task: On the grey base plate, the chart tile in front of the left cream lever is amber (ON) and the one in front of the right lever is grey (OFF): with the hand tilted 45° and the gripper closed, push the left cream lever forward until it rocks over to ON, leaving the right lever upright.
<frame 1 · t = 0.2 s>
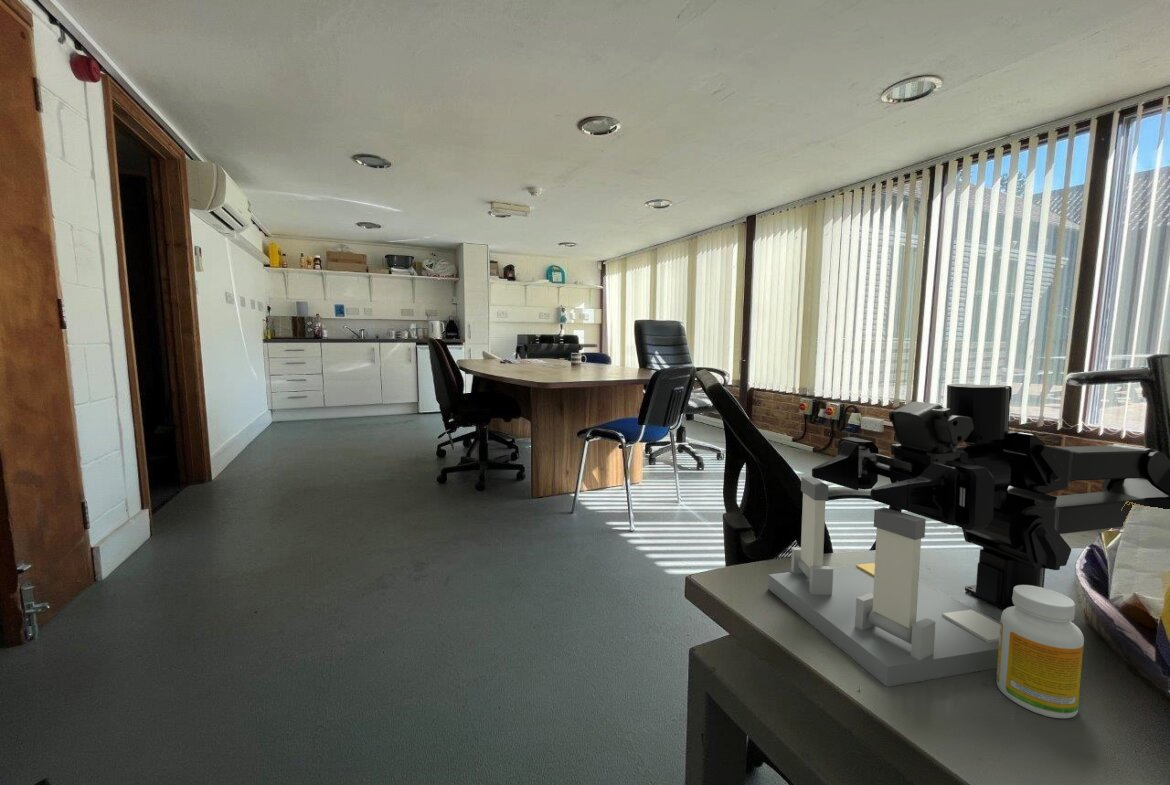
hand: (839, 482, 54), 17 cm above the table, tool horizontal, fingers open, 9 cm apart
grey base plate: (884, 620, 56), on the table
switch a: (812, 529, 60), point 9 cm above the table, hinge at 0.0°
switch b: (896, 574, 48), point 9 cm above the table, hinge at 0.0°
supplement bottle: (1035, 700, 43), on the table
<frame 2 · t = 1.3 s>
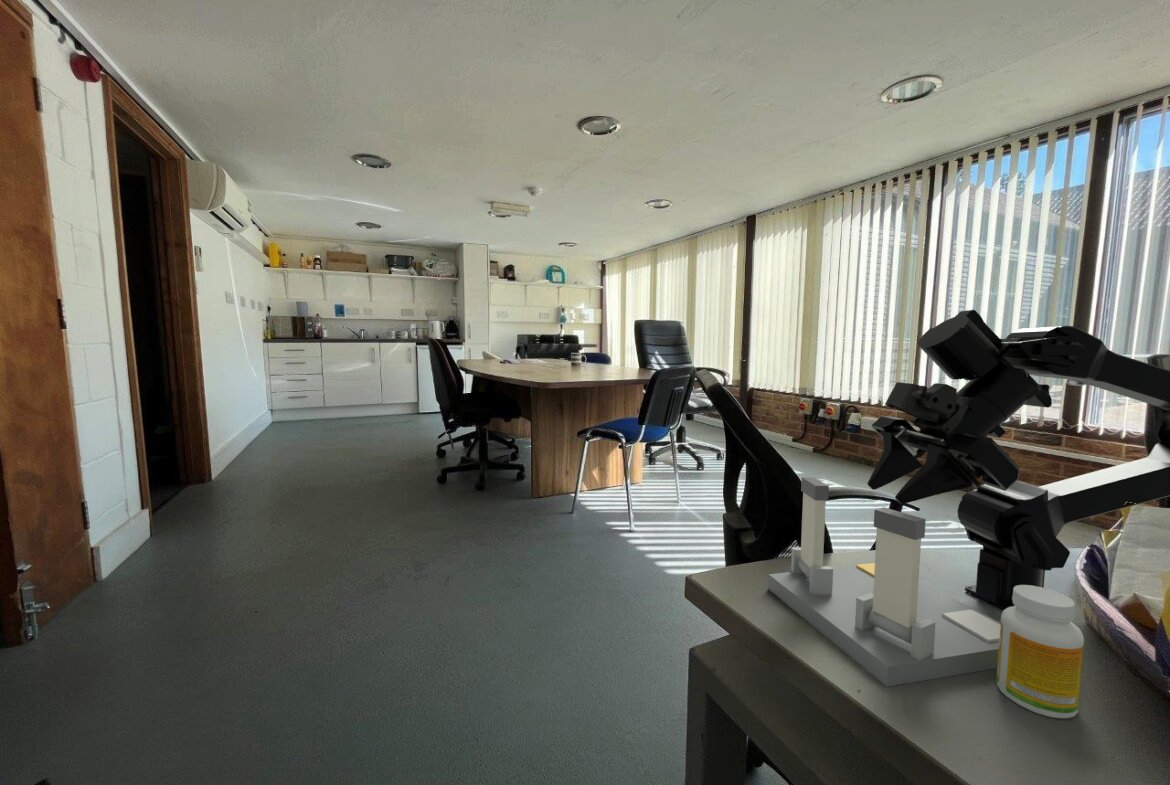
hand: (883, 493, 59), 14 cm above the table, tool tilted 45°, fingers open, 6 cm apart
nothing on the table moved.
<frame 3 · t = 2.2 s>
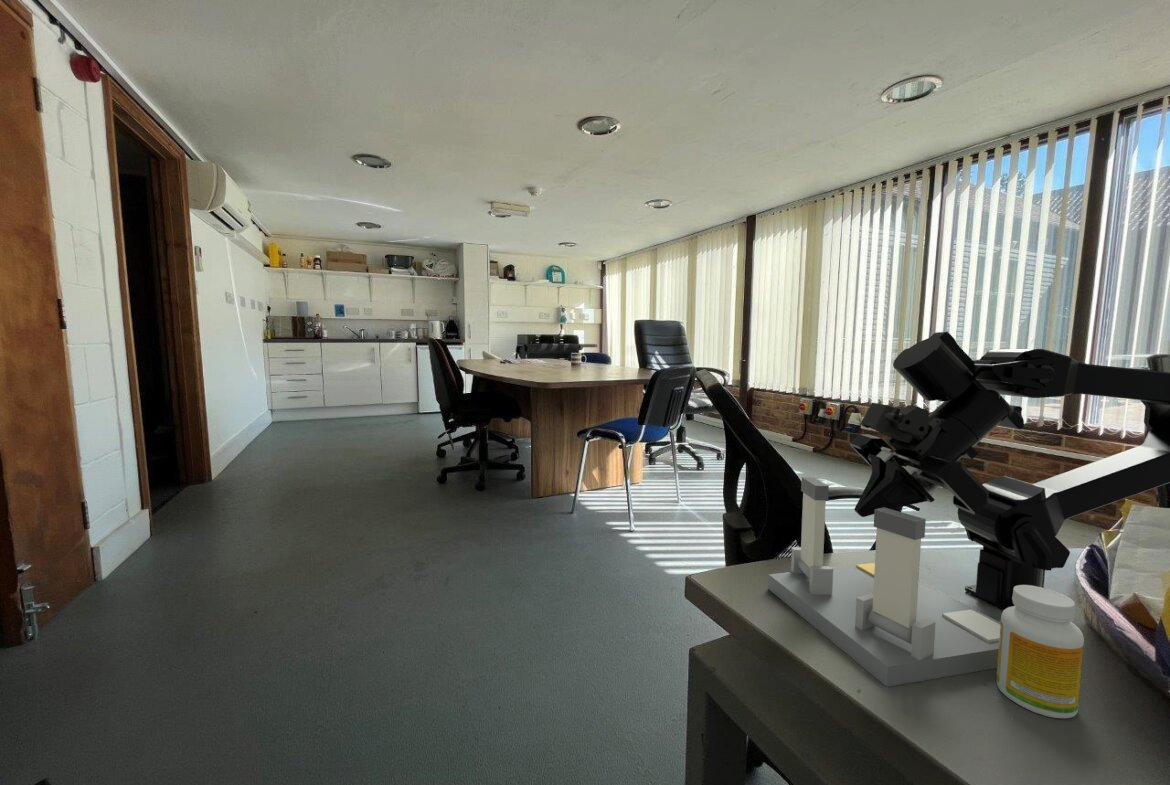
hand: (858, 513, 60), 11 cm above the table, tool tilted 45°, fingers closed
nothing on the table moved.
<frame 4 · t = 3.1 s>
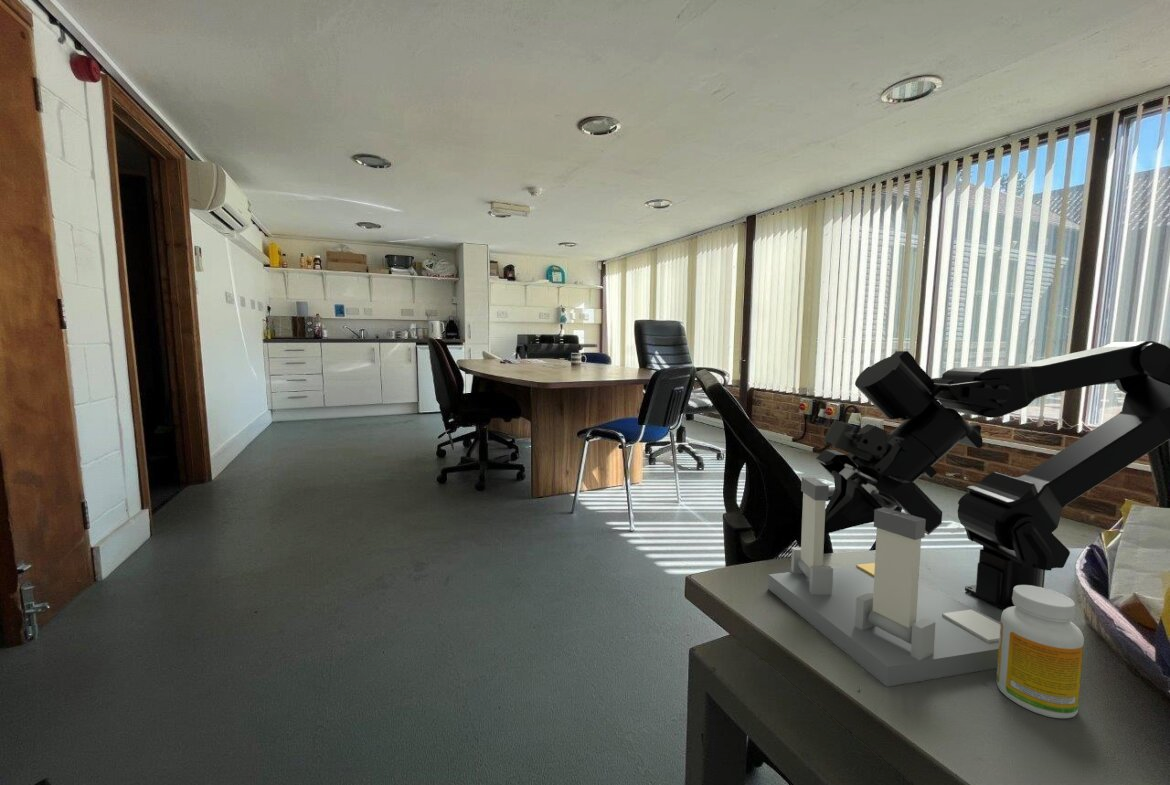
hand: (819, 530, 60), 9 cm above the table, tool tilted 45°, fingers closed, pressing on switch a
switch a: (812, 529, 60), point 9 cm above the table, hinge at -0.1°, touching gripper
everything else where it was.
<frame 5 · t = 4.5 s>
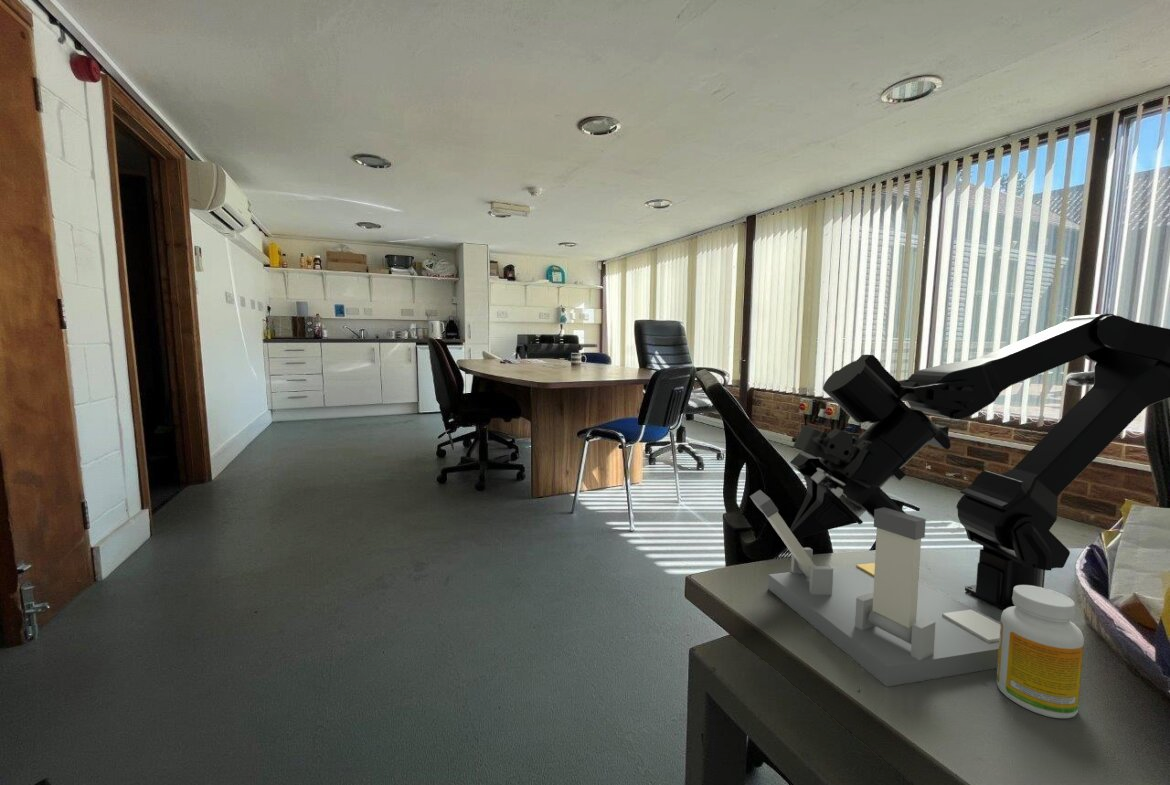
hand: (792, 535, 60), 8 cm above the table, tool tilted 45°, fingers closed, pressing on switch a
switch a: (787, 537, 60), point 8 cm above the table, hinge at 35.5°, touching gripper
everything else where it was.
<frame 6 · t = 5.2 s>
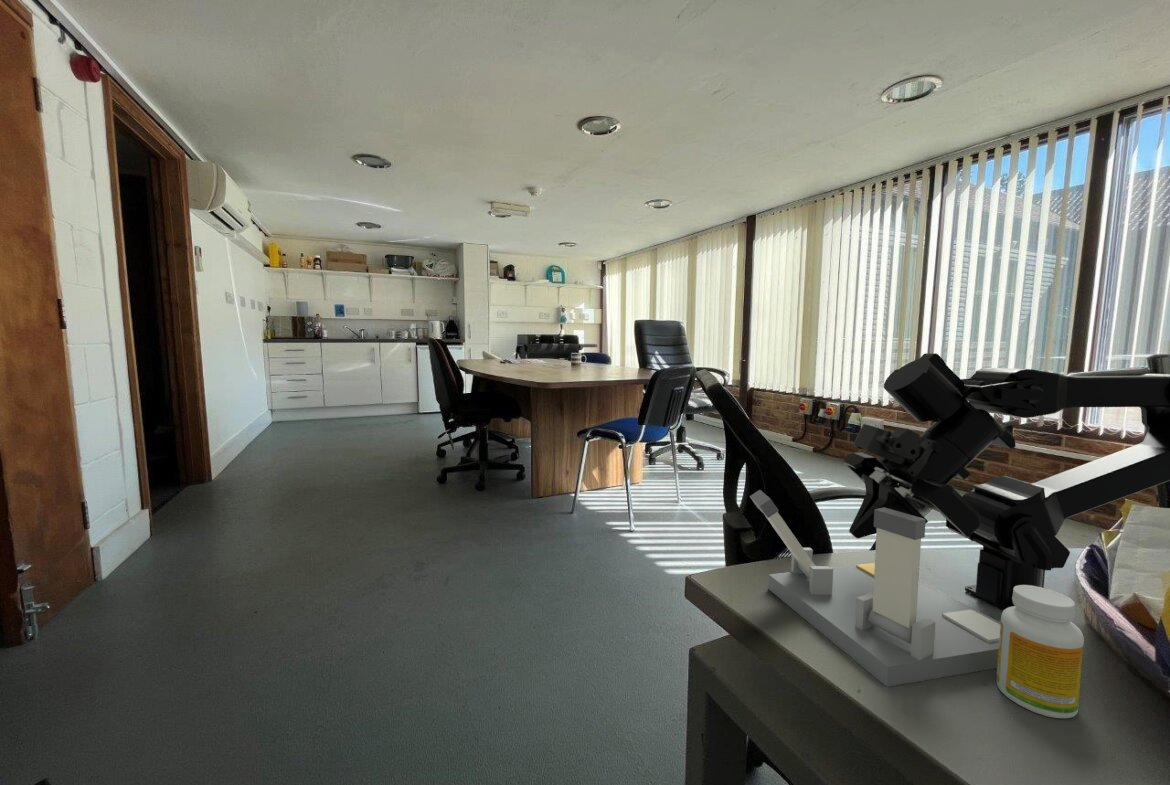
hand: (852, 535, 60), 8 cm above the table, tool tilted 45°, fingers closed
switch a: (787, 537, 60), point 8 cm above the table, hinge at 35.5°
everything else where it was.
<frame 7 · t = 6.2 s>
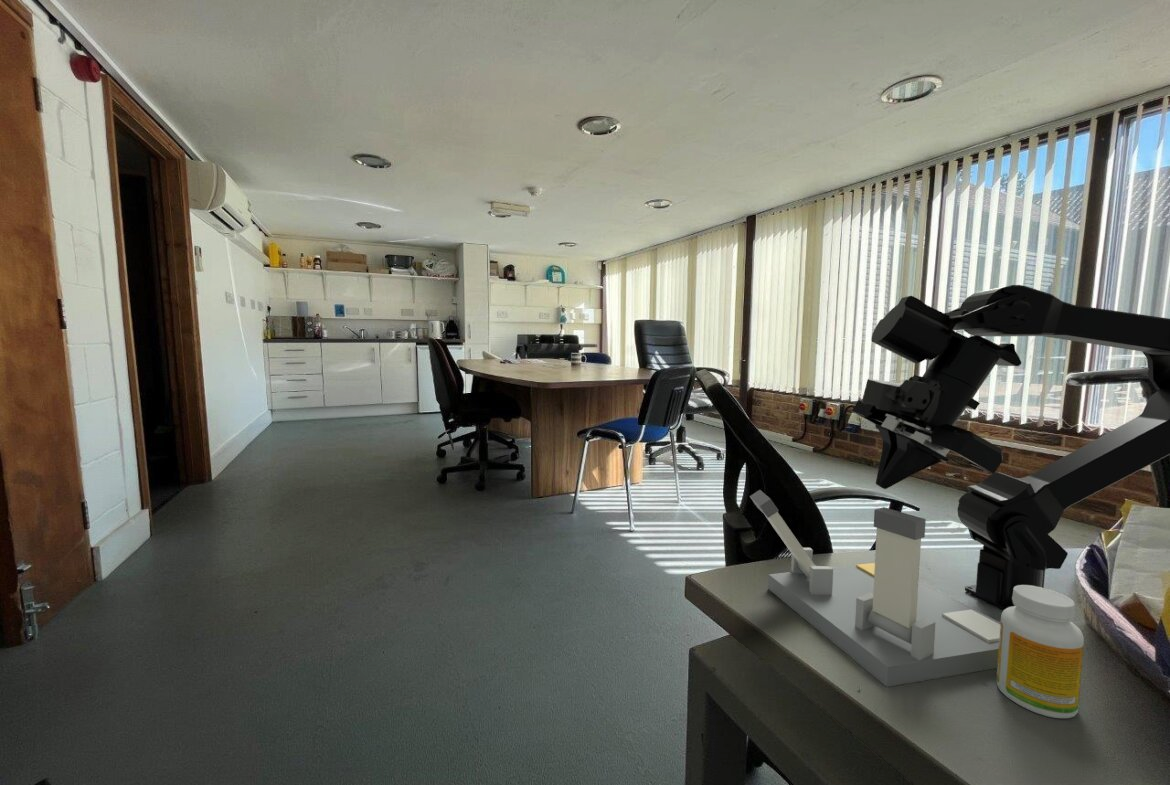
hand: (880, 486, 62), 14 cm above the table, tool tilted 30°, fingers closed
nothing on the table moved.
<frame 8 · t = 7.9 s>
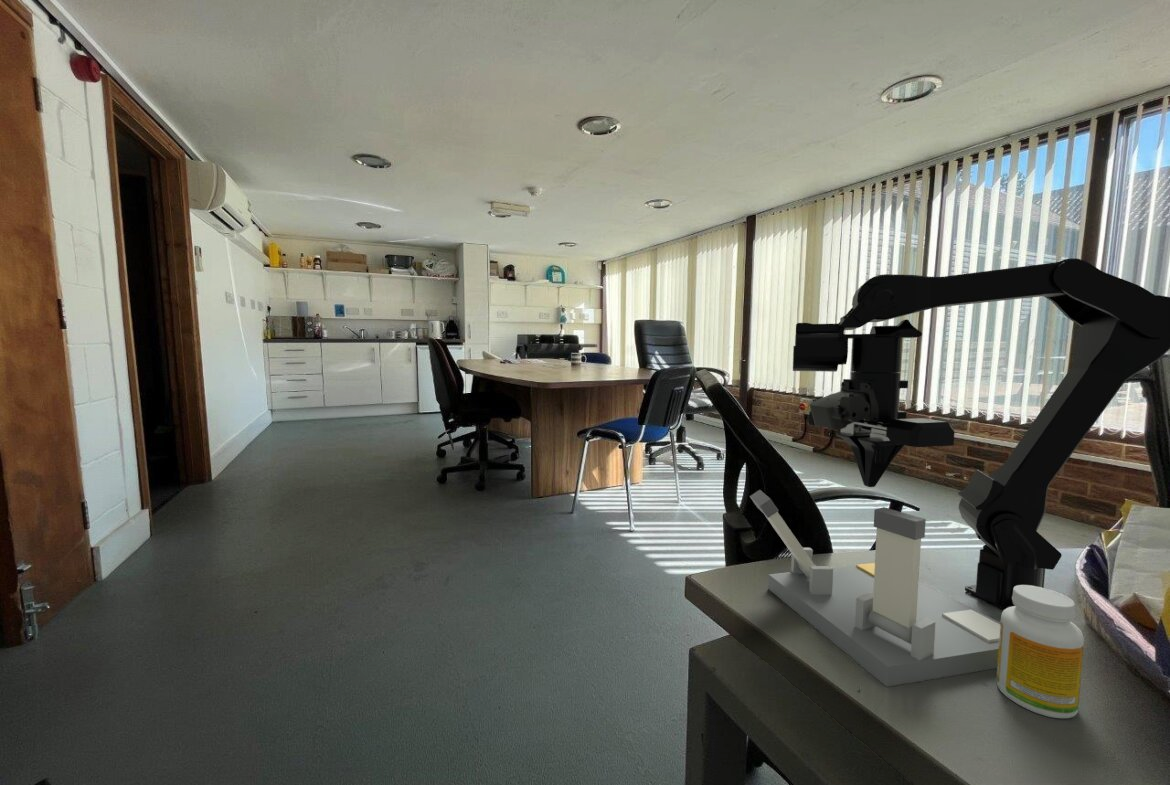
hand: (869, 486, 65), 13 cm above the table, tool pointing down, fingers closed
nothing on the table moved.
at the end: switch a at +36° (first picture: +0°); switch b at +0° (first picture: +0°); supplement bottle moved 0.2 cm from its start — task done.
